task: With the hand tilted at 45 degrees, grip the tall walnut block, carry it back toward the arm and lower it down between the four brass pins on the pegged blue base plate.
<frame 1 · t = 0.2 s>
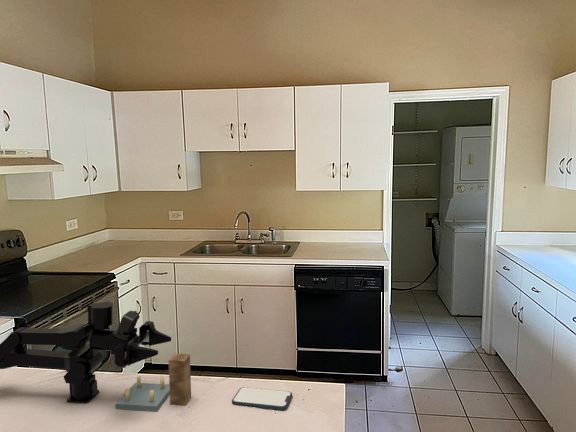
hand: (164, 345, 122), 17 cm above the countertop, tool horizontal, fingers open, 9 cm apart
pegged blue base plate: (145, 398, 126), on the countertop
walnut block: (180, 400, 125), on the countertop
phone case: (262, 402, 125), on the countertop
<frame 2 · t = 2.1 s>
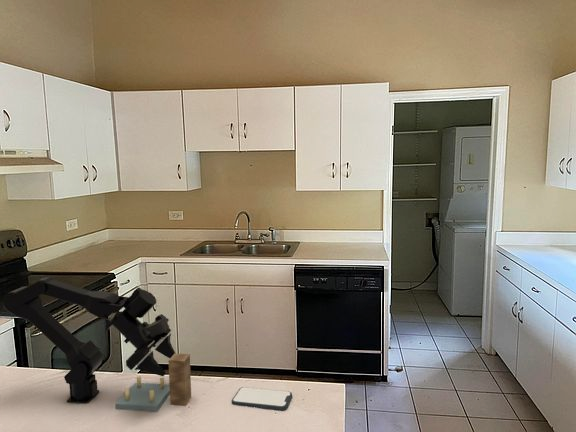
hand: (171, 367, 124), 10 cm above the countertop, tool tilted 45°, fingers open, 9 cm apart
nothing on the countertop moved.
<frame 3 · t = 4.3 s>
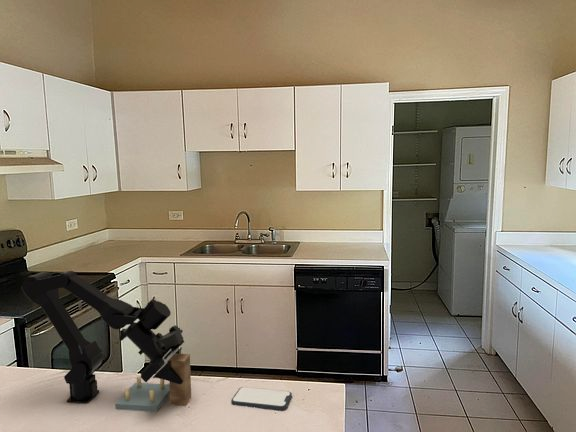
hand: (184, 379, 124), 7 cm above the countertop, tool tilted 45°, fingers closed on walnut block, 4 cm apart
walnut block: (181, 400, 125), on the countertop, touching gripper
everything else where it was.
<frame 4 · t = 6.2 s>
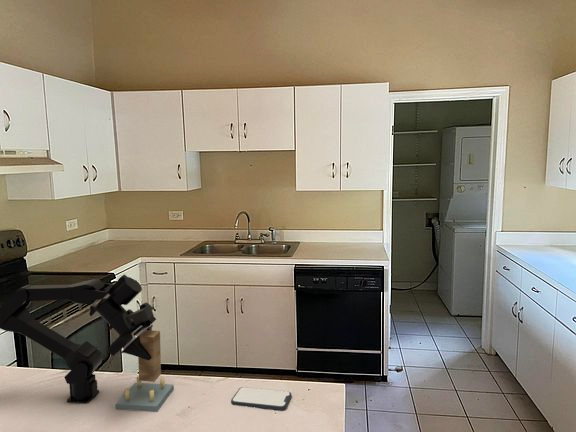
hand: (154, 355, 124), 13 cm above the countertop, tool tilted 45°, fingers closed on walnut block, 4 cm apart
walnut block: (150, 377, 125), point 7 cm above the countertop, touching gripper
everything else where it was.
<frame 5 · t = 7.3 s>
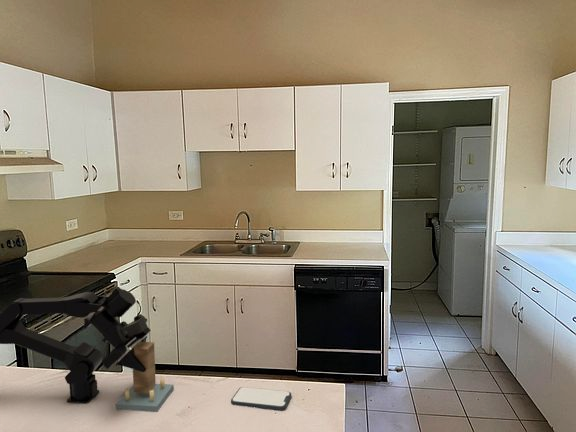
hand: (148, 367, 125), 10 cm above the countertop, tool tilted 45°, fingers closed on walnut block, 4 cm apart
walnut block: (144, 388, 126), point 3 cm above the countertop, touching gripper
everything else where it was.
when the fingers open (9 cm above the countertop, at t = 8.1 s): walnut block drops 1 cm, resting on pegged blue base plate.
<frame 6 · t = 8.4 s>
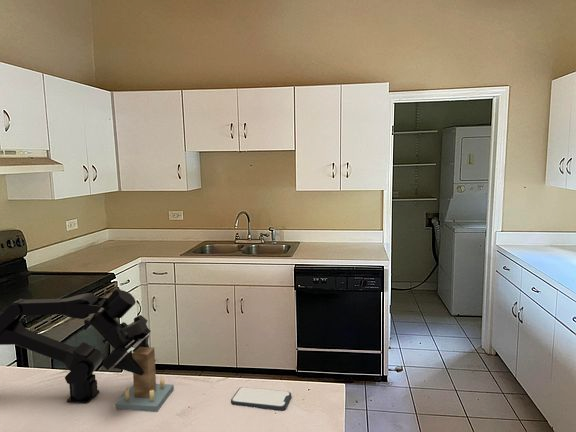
hand: (148, 367, 125), 9 cm above the countertop, tool tilted 45°, fingers open, 7 cm apart
walnut block: (145, 393, 126), point 1 cm above the countertop, touching pegged blue base plate
everything else where it was.
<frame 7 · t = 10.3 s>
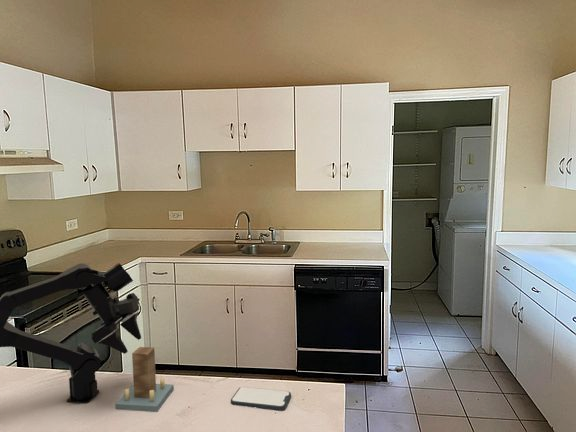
hand: (133, 345, 128), 14 cm above the countertop, tool tilted 35°, fingers open, 9 cm apart
nothing on the countertop moved.
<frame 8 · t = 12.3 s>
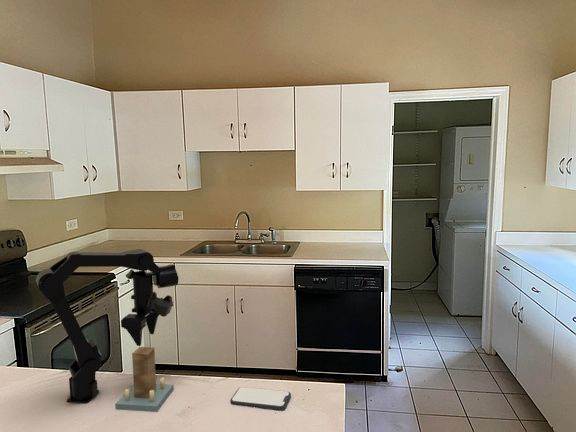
hand: (145, 339, 136), 13 cm above the countertop, tool pointing down, fingers open, 9 cm apart
nothing on the countertop moved.
at the end: walnut block 0.0 cm off-centre on the pegged blue base plate, point 1.5 cm above the pegged blue base plate's base; walnut block tilted 0°; the gripper is holding nothing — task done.
